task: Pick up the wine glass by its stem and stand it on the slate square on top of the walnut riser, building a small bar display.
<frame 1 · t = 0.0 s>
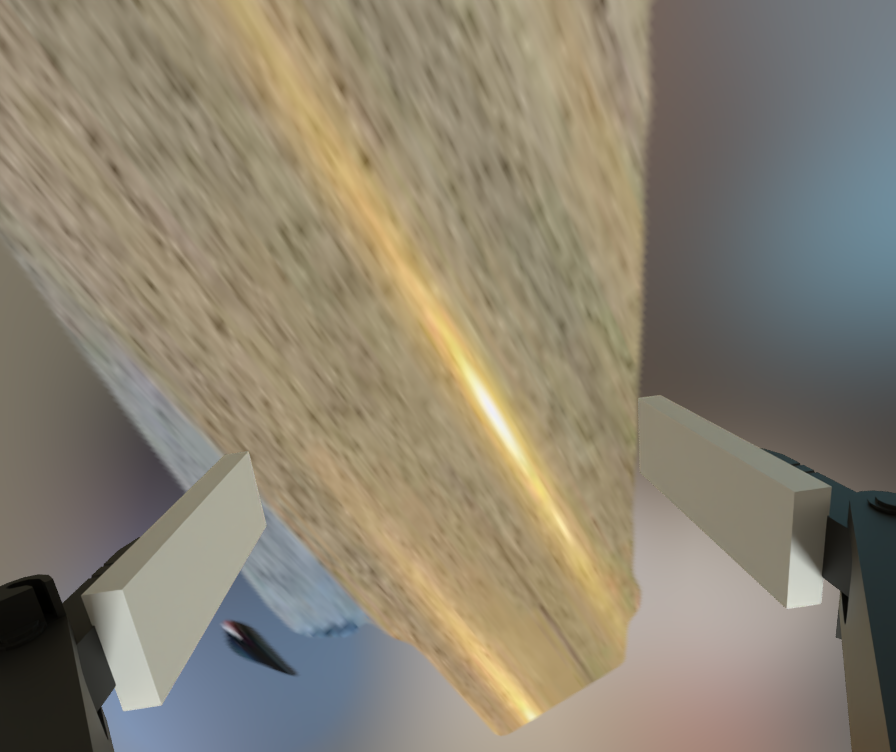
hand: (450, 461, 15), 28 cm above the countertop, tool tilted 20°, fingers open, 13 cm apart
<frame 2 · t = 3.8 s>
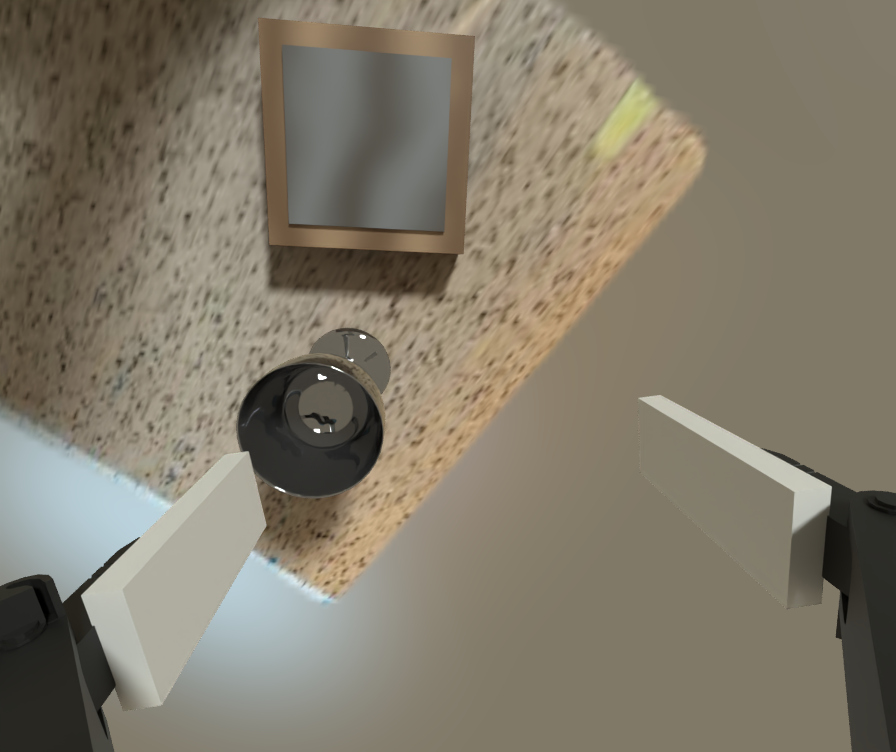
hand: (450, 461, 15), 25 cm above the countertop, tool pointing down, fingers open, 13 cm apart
riser: (373, 156, 35), on the countertop
wine glass: (349, 368, 40), on the countertop
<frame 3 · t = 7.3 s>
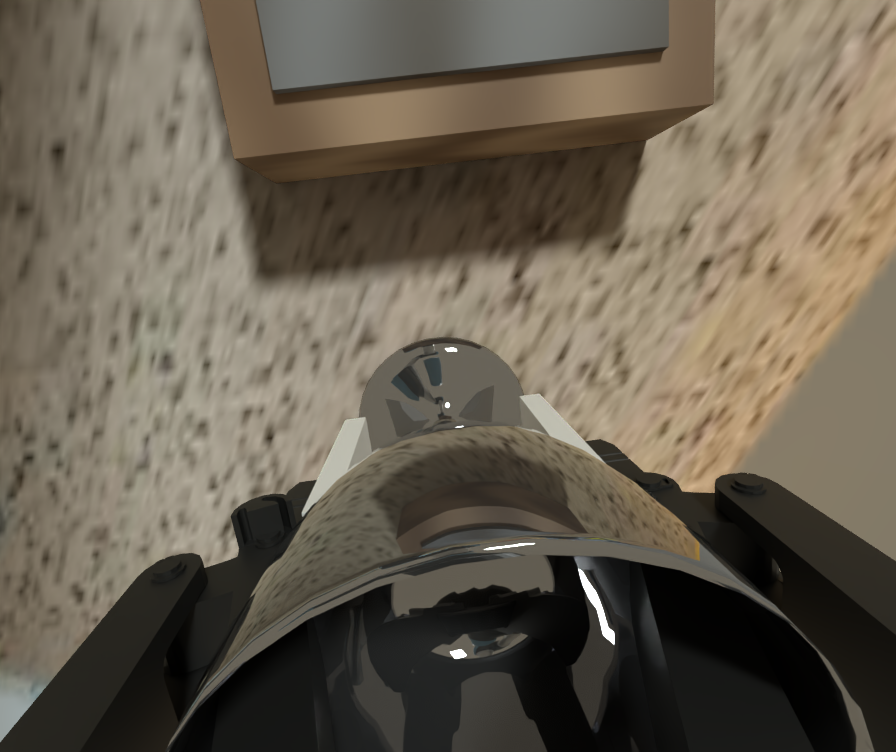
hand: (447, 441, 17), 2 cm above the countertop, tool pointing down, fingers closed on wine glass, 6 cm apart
wine glass: (443, 418, 20), on the countertop, touching gripper
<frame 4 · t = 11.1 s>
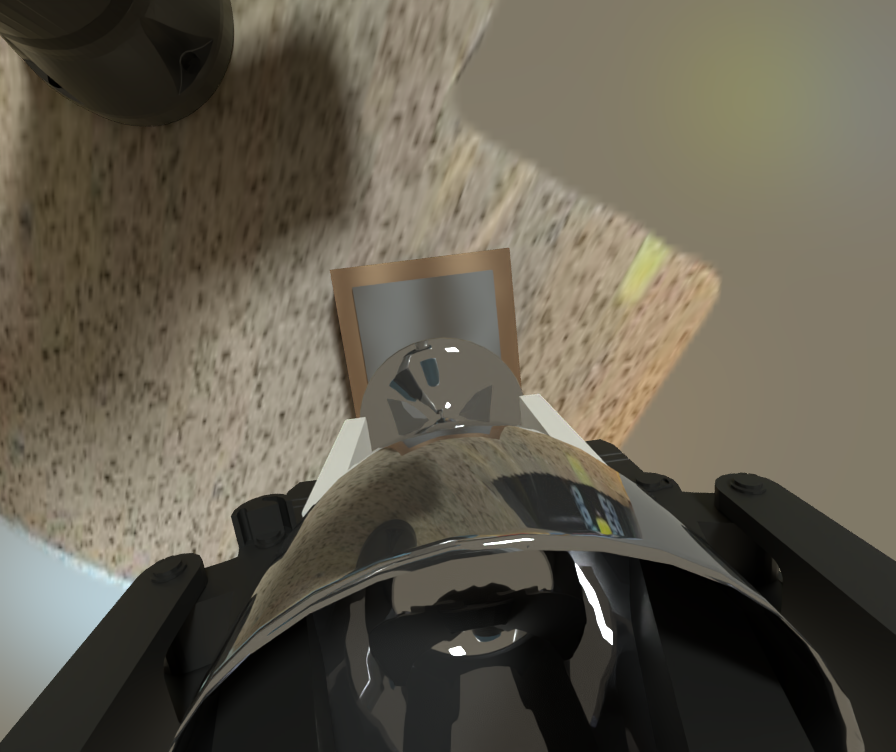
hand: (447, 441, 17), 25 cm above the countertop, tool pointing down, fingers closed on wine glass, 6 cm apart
riser: (430, 339, 41), on the countertop
wine glass: (443, 418, 20), point 22 cm above the countertop, touching gripper
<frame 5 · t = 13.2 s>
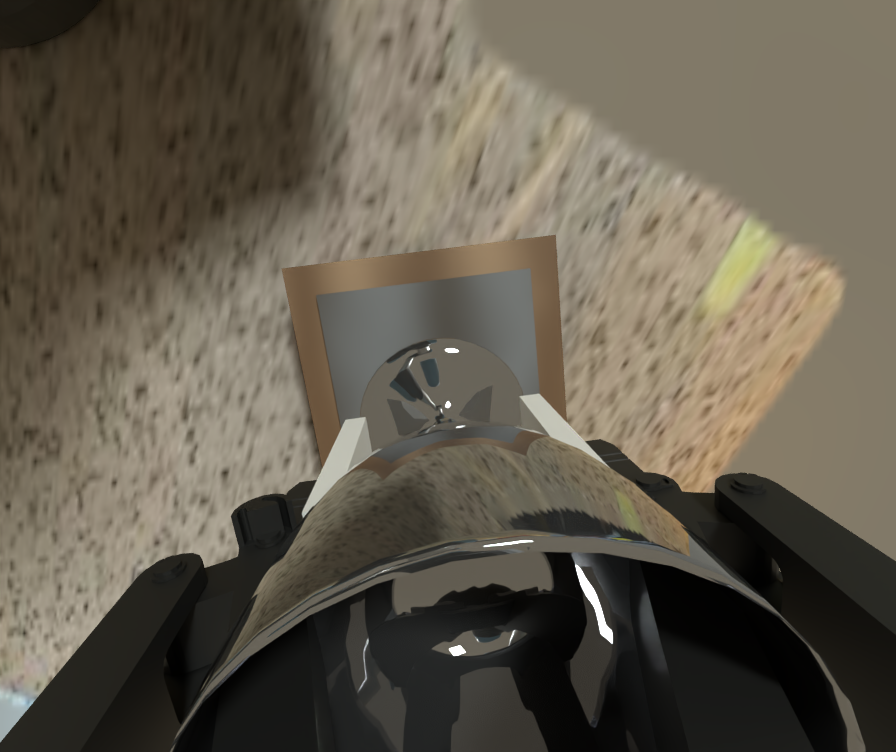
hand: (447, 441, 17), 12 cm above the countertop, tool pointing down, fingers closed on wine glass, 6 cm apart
riser: (434, 367, 29), on the countertop
wine glass: (443, 418, 20), point 9 cm above the countertop, touching gripper
when the fingers open (8 cm above the countertop, at t = 14.9 s): wine glass drops 1 cm, resting on riser.
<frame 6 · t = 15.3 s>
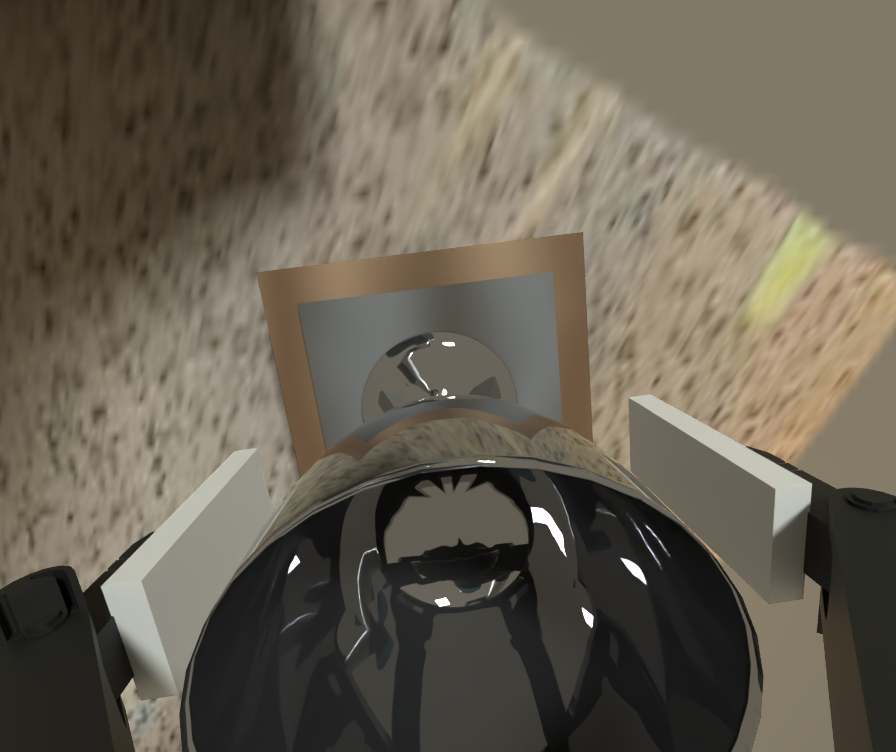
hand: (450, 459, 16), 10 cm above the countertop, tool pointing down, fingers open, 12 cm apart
riser: (438, 385, 25), on the countertop
wine glass: (440, 408, 21), point 4 cm above the countertop, touching riser
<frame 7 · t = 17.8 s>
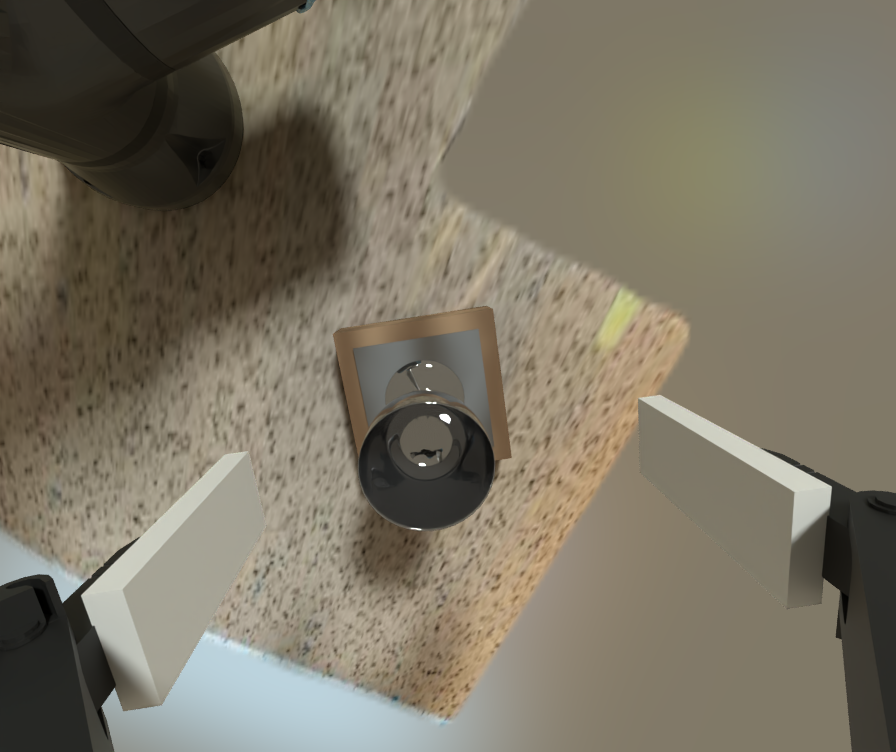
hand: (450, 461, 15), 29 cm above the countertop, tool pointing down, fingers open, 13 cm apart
riser: (425, 387, 45), on the countertop
wine glass: (424, 398, 41), point 4 cm above the countertop, touching riser
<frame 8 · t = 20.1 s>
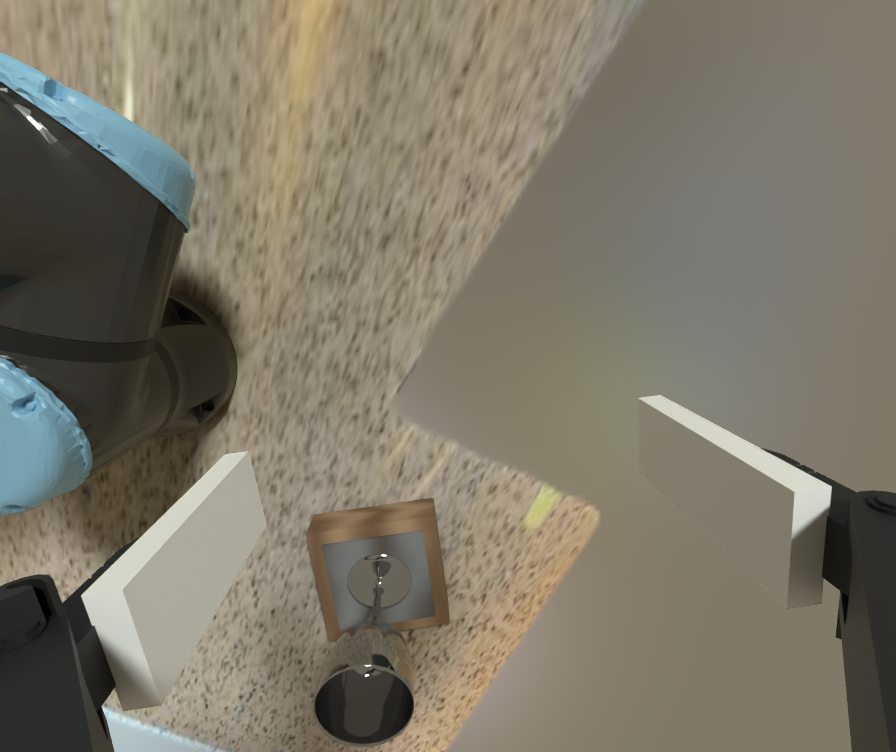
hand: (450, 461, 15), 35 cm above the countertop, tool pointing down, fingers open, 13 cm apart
riser: (383, 558, 55), on the countertop
wine glass: (379, 580, 51), point 4 cm above the countertop, touching riser
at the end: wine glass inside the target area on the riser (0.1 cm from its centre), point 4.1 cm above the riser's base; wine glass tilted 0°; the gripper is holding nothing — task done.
